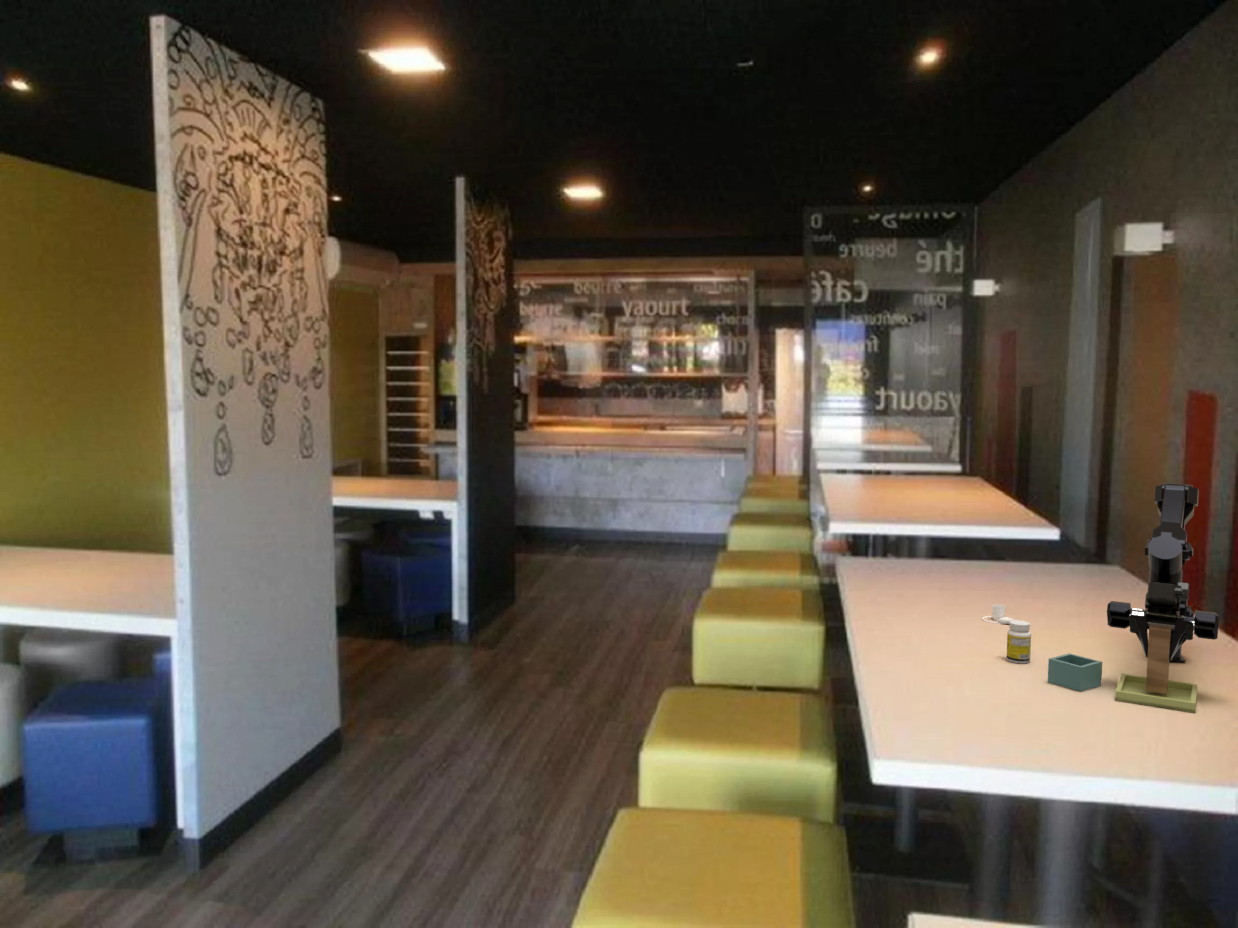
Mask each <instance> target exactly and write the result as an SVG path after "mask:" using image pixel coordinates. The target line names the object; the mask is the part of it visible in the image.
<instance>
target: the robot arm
mask: <svg viewBox="0 0 1238 928" xmlns="http://www.w3.org/2000/svg"><path fill="white" fill-rule="evenodd" d="M1199 493H1200V491H1199V488H1198V487H1194V486H1193V484H1186V483H1173V482H1167V483H1163V482H1162V483H1161V485H1155V486H1154V496H1153V497H1154V498H1153V503H1154V504H1157V514H1158V515H1159V517H1160V521H1159V525H1158V526H1157V527H1155V528H1154V529H1152V530H1151V535H1150V536H1151V537H1150V539H1147V540H1146V542H1145V546H1144V556H1145V557H1147V558H1148V567H1149V575H1148V584H1147V592H1146V594H1145V600H1144V601H1145V602H1144V609H1143V608H1133V607H1131V602H1124V601H1123V602H1122V601H1114V600H1111V601H1109V602H1108V603H1107V606H1106V617H1107V618H1106V619H1107V626H1109V627H1110V628H1117V629H1127V628H1129V632H1130V633H1132V634H1135V635H1136V637H1137V639H1138V641H1139V642H1140V645H1141V648H1142V651H1143V653H1144V656H1145V657H1146V658H1148V641H1149V631H1148V630H1149V628H1150V625H1156V626H1165V627H1171V641H1170V650H1169V662H1174V663H1175V662H1176V663H1186V659H1185V658H1184V657H1183V655H1182V646H1183V644H1184V643H1186V641H1192V640H1194V635H1195V636H1196V637H1197V638H1198V639H1204V640H1205V639H1206V640H1217V639H1218V636H1219V619H1220V617H1219V615H1218V614H1217V612H1214V611H1204V610H1197V609H1196V610H1194V612H1193V611H1192V609H1191V606H1189V605H1188V601H1189V596H1190V595H1189V593H1190V583H1189V582H1183V569H1182V568H1183V566H1185V565H1186V561H1190V559H1191V558H1193V556H1194V548H1193V546H1192V544H1191V542H1187V541H1188V539H1187V538H1188V532H1187V531H1186V529H1185V527H1186V525H1187V524H1188V522H1189V521H1190V520H1191V519H1192V518H1193V517H1194V514H1195V512H1194V511H1195V507H1198V506H1199V496H1200V495H1199Z"/></svg>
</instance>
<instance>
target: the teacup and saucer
mask: <svg viewBox="0 0 1238 928" xmlns="http://www.w3.org/2000/svg"><path fill="white" fill-rule="evenodd" d="M991 607H992V612H991V613H992V615H986V616H983V617H981V619H982V621H985V622H987V623H992V624H999V625H1010V621H1013V620H1015V619H1014V618H1013V617H1007V616H1005V615H1006V605H1004V604H1001V603H1000V604H996V603H995V604H992V606H991ZM987 617H990V618H992V619H993V621H992V620H991V621H990V620H988V618H987ZM984 618H987V620H985V619H984ZM995 621H996V622H995Z"/></svg>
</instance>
